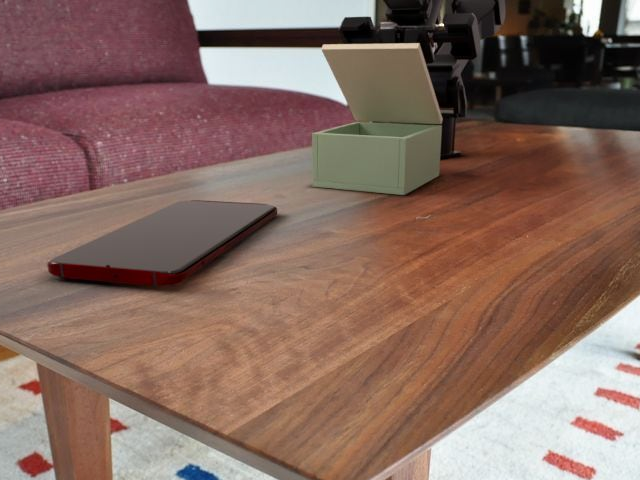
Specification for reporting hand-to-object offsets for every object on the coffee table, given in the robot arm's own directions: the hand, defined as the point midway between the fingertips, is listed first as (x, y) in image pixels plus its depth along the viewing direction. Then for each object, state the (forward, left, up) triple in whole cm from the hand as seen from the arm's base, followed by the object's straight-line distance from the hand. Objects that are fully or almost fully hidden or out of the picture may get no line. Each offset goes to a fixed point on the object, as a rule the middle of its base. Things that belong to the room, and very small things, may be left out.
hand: (390, 85), depth 88 cm
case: (+3, +1, -12) cm, 13 cm away
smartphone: (+37, +11, -12) cm, 41 cm away
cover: (+2, +1, 0) cm, 2 cm away
